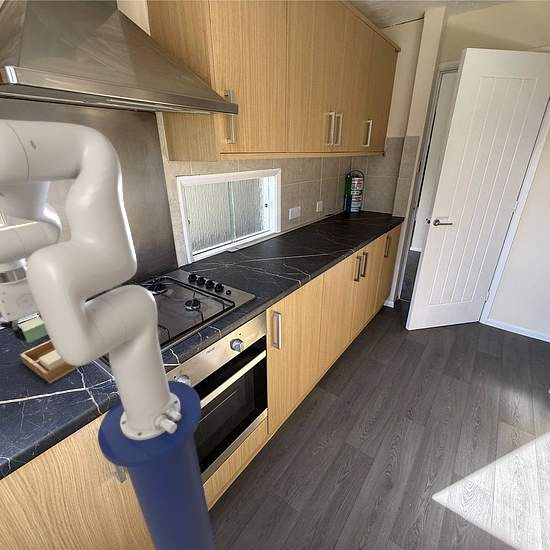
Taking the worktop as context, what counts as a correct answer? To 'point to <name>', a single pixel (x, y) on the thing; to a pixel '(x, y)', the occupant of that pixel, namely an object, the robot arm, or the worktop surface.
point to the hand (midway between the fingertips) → (35, 333)
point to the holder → (34, 363)
